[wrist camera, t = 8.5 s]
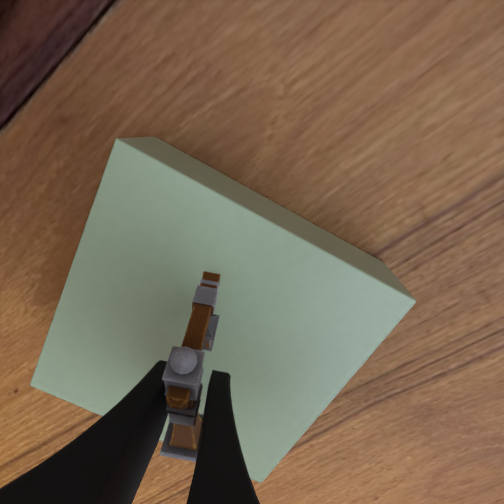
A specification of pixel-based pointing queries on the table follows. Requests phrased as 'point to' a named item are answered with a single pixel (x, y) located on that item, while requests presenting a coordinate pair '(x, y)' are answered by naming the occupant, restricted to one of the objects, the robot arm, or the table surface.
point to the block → (228, 298)
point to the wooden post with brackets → (190, 373)
